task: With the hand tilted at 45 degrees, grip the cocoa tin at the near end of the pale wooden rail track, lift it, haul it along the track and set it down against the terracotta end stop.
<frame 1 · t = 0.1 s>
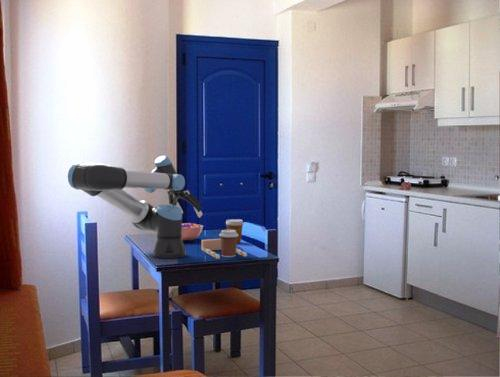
hand: (191, 214, 306), 15 cm above the table, tool tilted 35°, fingers open, 13 cm apart
end stop: (216, 249, 293), on the table
disposable coffee cup: (234, 243, 311), on the table
track rails: (224, 253, 282), on the table
coffee cup: (228, 256, 277), on the table
cell model: (184, 241, 317), on the table
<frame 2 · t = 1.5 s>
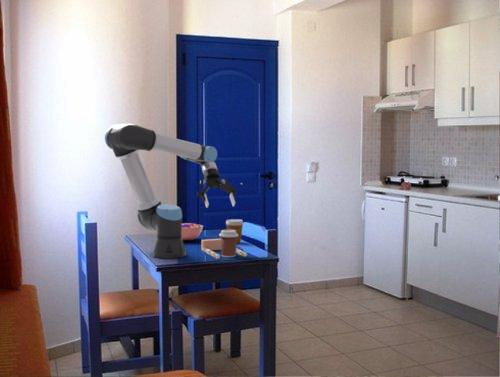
hand: (220, 205, 285), 23 cm above the table, tool tilted 45°, fingers open, 13 cm apart
nothing on the table moved.
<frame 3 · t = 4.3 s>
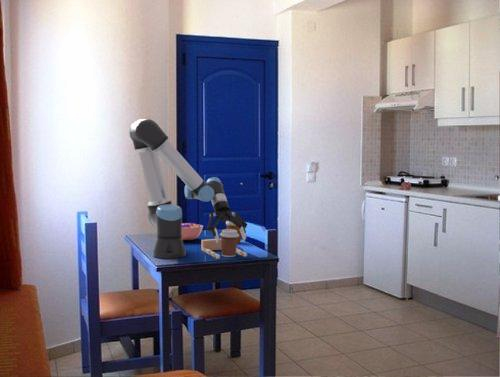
hand: (231, 240, 279), 7 cm above the table, tool tilted 45°, fingers open, 13 cm apart
nothing on the table moved.
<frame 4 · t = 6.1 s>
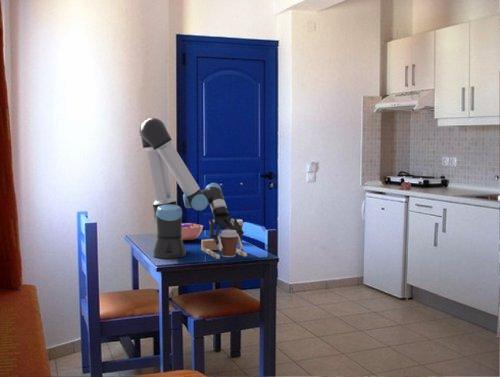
hand: (231, 248, 274), 4 cm above the table, tool tilted 45°, fingers closed on coffee cup, 9 cm apart
coffee cup: (228, 256, 277), on the table, touching gripper
everything else where it was.
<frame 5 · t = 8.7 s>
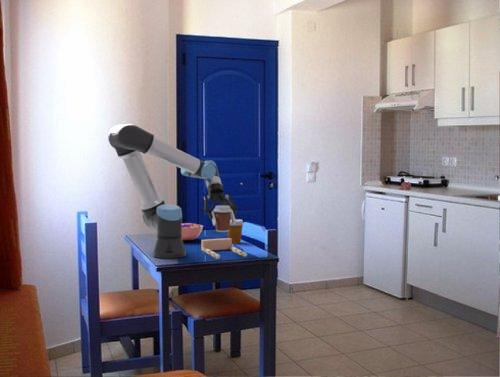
hand: (224, 223, 281), 15 cm above the table, tool tilted 45°, fingers closed on coffee cup, 9 cm apart
coffee cup: (222, 231, 284), point 10 cm above the table, touching gripper
everything else where it was.
when the fingers open (5 cm above the table, at t = 11.6 s): coffee cup drops 1 cm, on the table.
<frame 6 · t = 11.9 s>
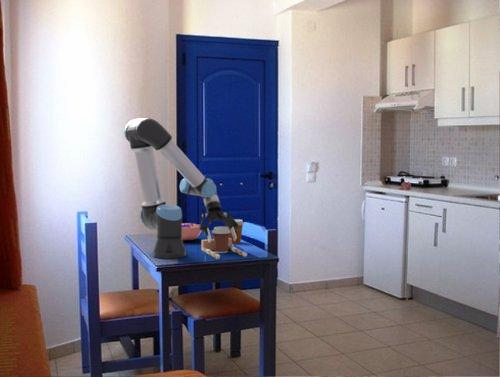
hand: (222, 240, 284), 6 cm above the table, tool tilted 45°, fingers open, 12 cm apart
coffee cup: (221, 252, 287), on the table
everything else where it was.
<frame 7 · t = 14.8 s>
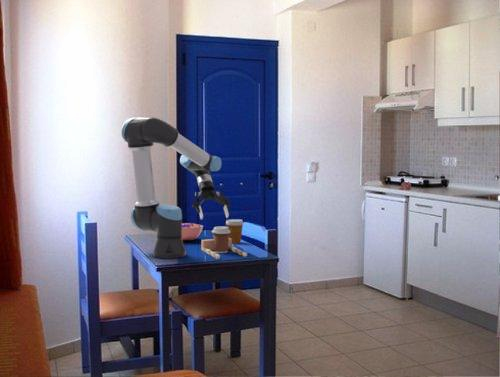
hand: (215, 217, 295), 16 cm above the table, tool tilted 45°, fingers open, 13 cm apart
nothing on the table moved.
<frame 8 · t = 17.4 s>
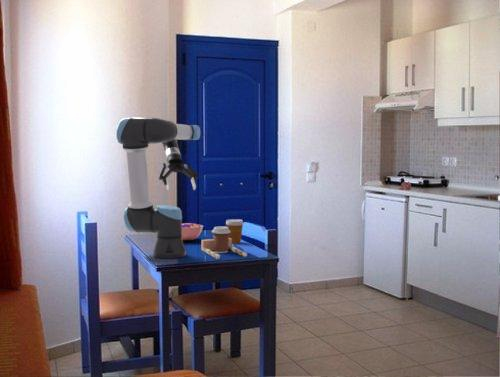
hand: (181, 188, 295), 30 cm above the table, tool tilted 45°, fingers open, 13 cm apart
nothing on the table moved.
at the end: coffee cup 6.7 cm from the end stop (horizontally); coffee cup tilted 0°; coffee cup 0.2 cm from the target spot, on the table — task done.
